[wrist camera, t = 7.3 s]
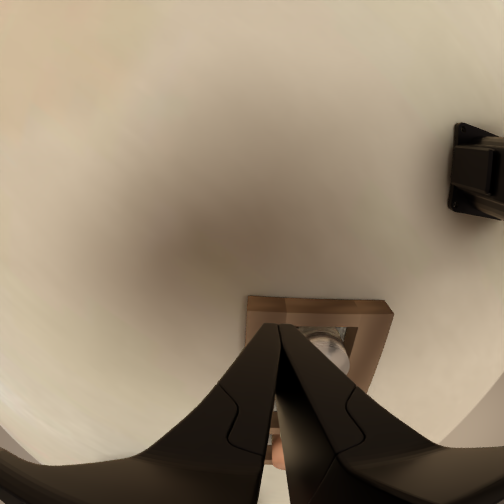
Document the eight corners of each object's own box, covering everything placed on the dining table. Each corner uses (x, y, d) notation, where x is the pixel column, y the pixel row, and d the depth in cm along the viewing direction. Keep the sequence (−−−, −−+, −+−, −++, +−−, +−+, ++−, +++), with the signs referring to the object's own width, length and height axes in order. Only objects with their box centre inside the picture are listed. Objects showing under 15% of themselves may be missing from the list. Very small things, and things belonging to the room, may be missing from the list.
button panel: (384, 300, 20) (394, 313, 18) (331, 448, 27) (334, 461, 25) (248, 295, 20) (247, 310, 18) (240, 448, 27) (239, 463, 25)
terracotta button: (315, 425, 24) (319, 449, 21) (308, 446, 26) (311, 469, 23) (273, 425, 24) (274, 450, 21) (269, 447, 26) (270, 470, 23)
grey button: (345, 321, 20) (355, 346, 17) (334, 364, 22) (342, 390, 19) (290, 320, 20) (294, 346, 17) (283, 364, 22) (286, 391, 19)
